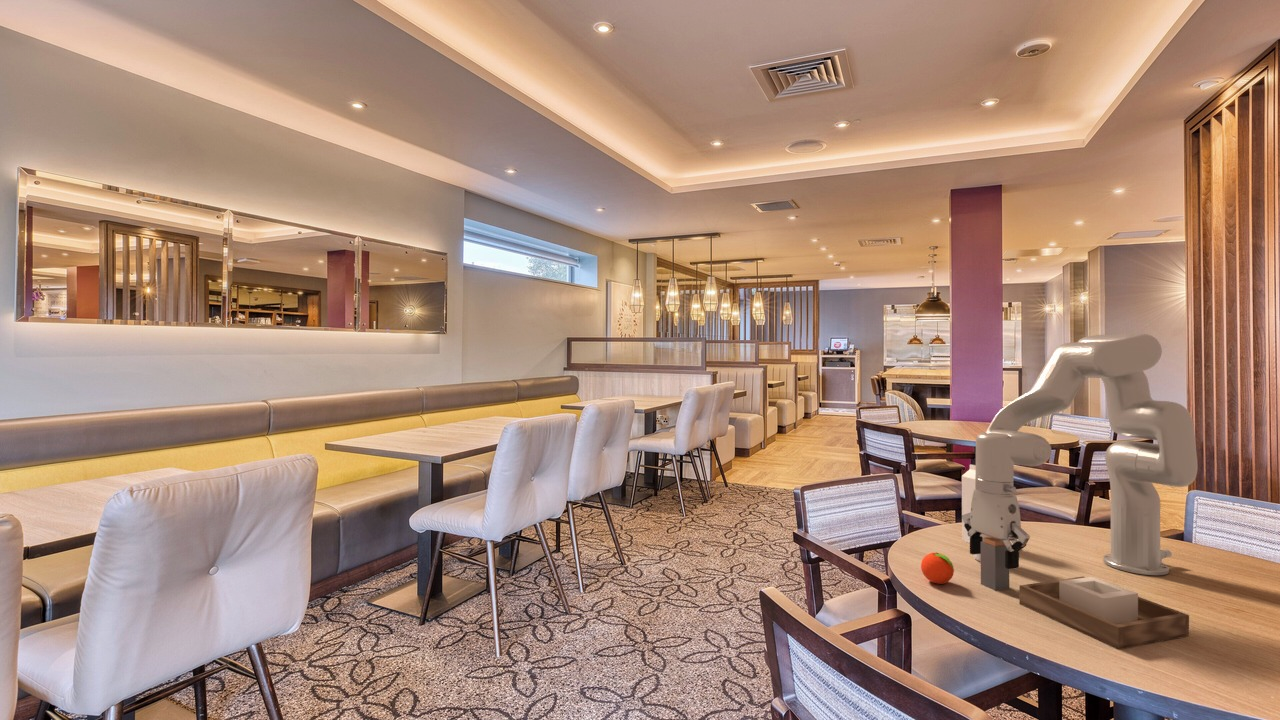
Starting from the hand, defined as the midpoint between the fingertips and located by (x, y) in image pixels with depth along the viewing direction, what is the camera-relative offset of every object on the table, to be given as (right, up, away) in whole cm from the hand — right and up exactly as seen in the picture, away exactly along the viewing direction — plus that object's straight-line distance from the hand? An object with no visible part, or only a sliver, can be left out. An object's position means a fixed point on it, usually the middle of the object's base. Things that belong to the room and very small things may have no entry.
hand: (993, 560), depth 133 cm
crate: (+11, -6, -17) cm, 21 cm away
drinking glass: (+8, -6, +17) cm, 20 cm away
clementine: (-11, -6, +2) cm, 13 cm away
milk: (+15, -6, +31) cm, 35 cm away
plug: (0, -6, 0) cm, 6 cm away
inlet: (+12, -6, -15) cm, 20 cm away
